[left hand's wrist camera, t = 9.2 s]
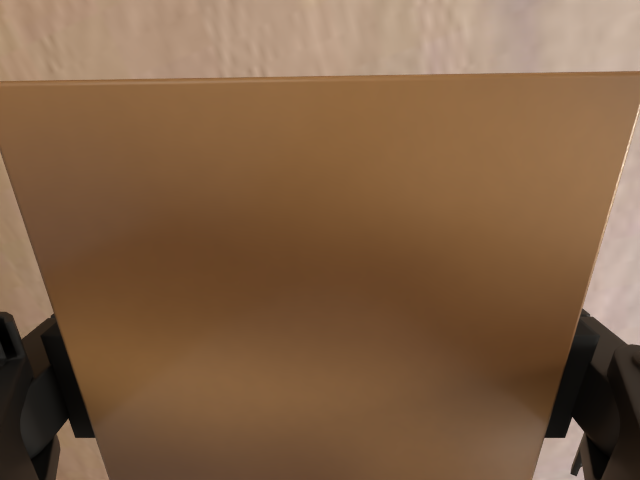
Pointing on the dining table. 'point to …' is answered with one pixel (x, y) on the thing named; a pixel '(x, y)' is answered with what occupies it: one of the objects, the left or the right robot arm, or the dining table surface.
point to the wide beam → (319, 263)
